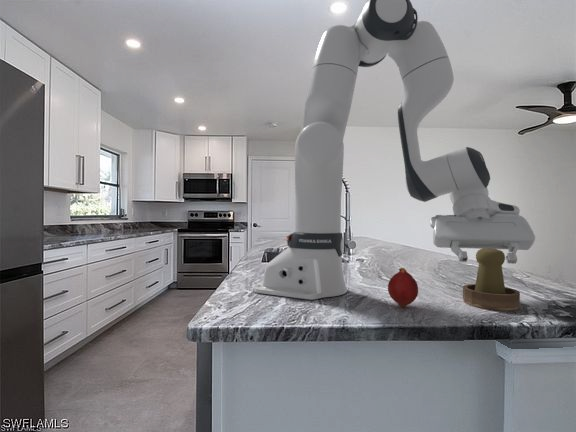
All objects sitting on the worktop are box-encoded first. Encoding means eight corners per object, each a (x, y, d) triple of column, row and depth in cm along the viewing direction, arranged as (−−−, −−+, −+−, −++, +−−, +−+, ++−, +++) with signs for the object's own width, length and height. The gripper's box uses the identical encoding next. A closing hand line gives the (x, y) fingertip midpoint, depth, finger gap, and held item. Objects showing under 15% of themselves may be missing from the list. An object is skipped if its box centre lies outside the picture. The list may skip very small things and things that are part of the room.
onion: (393, 301, 70) (393, 264, 70) (421, 306, 66) (421, 267, 66) (383, 307, 65) (384, 267, 65) (413, 313, 62) (414, 270, 62)
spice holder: (470, 308, 65) (470, 293, 65) (458, 296, 74) (458, 282, 74) (528, 312, 62) (528, 296, 62) (508, 299, 72) (508, 285, 72)
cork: (512, 305, 65) (513, 250, 65) (479, 304, 66) (480, 249, 66) (499, 298, 71) (499, 247, 71) (469, 296, 72) (469, 247, 72)
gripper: (430, 206, 80) (437, 250, 71) (526, 206, 75) (547, 253, 65) (427, 224, 85) (433, 267, 75) (518, 225, 79) (536, 271, 70)
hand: (487, 261), depth 70 cm, fingers open, 8 cm apart
